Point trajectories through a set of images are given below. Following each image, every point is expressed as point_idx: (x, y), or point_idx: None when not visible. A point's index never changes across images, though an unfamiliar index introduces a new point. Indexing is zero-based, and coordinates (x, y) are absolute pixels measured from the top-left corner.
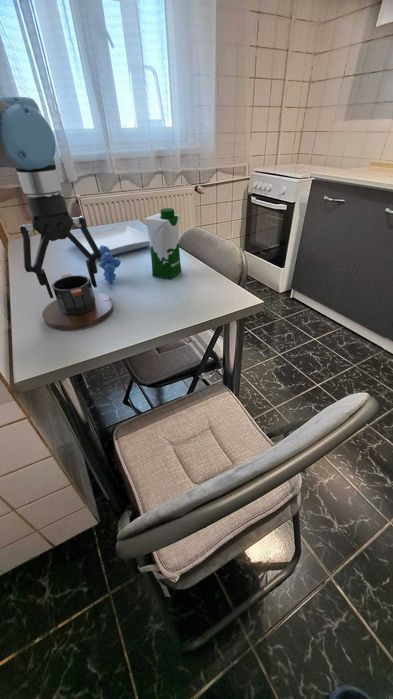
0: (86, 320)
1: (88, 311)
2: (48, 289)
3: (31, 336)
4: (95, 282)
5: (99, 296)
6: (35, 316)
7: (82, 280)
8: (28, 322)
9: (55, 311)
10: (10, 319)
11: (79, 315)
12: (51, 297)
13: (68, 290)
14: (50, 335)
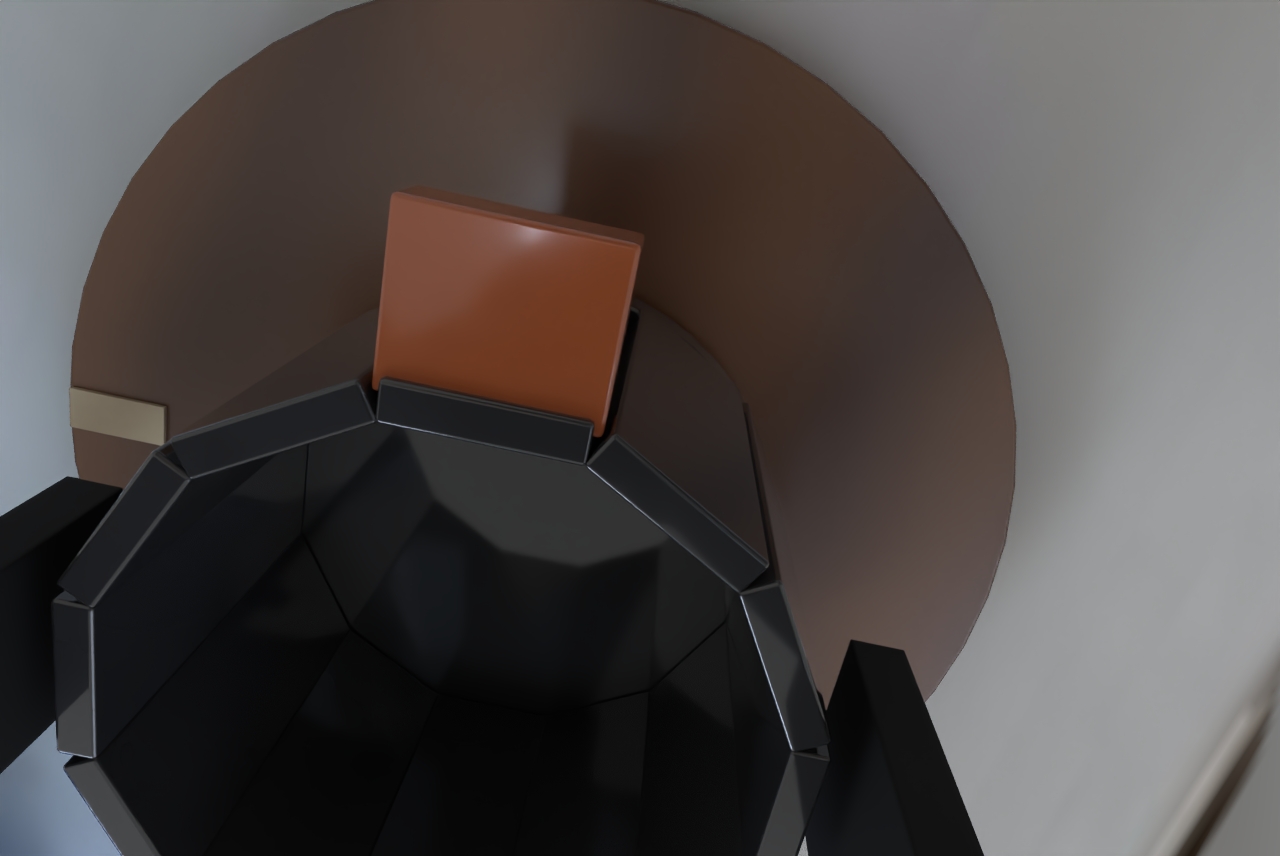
0: (608, 46)
1: None
2: (932, 767)
3: (1253, 345)
4: (5, 522)
5: None
6: (974, 734)
7: (210, 796)
8: (1096, 668)
9: (809, 602)
10: (1186, 850)
11: None
12: (889, 654)
13: (632, 444)
14: (1091, 190)
